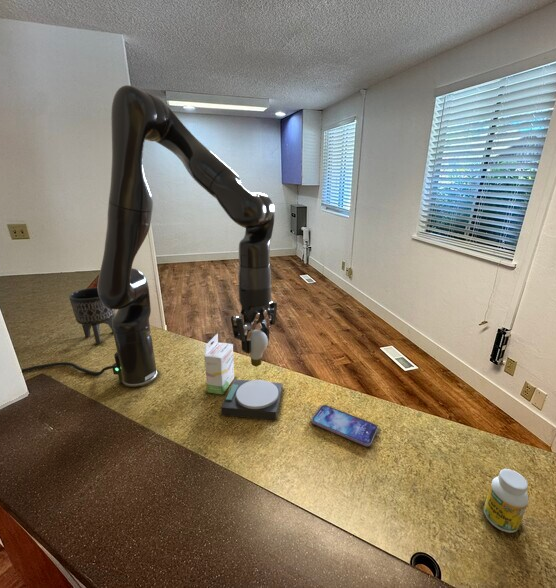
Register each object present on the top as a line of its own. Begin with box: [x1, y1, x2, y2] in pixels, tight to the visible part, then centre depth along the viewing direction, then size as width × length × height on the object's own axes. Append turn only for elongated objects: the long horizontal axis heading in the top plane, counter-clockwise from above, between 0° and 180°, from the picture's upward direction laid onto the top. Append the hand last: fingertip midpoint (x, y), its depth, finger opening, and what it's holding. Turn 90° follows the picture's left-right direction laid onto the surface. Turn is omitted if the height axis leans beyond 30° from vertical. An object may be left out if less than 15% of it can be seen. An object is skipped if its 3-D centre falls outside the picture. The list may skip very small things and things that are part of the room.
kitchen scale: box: [220, 378, 283, 421], centre depth 82 cm, size 14×12×3 cm
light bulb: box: [248, 329, 269, 368], centre depth 76 cm, size 6×6×10 cm
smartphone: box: [311, 404, 378, 447], centre depth 75 cm, size 7×1×15 cm
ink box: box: [204, 333, 235, 395], centre depth 86 cm, size 9×5×15 cm, turn 168°
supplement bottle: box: [483, 468, 529, 533], centre depth 53 cm, size 5×5×10 cm
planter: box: [68, 287, 116, 346], centre depth 111 cm, size 13×13×18 cm
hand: (256, 346), depth 76 cm, fingers closed on light bulb, 6 cm apart
